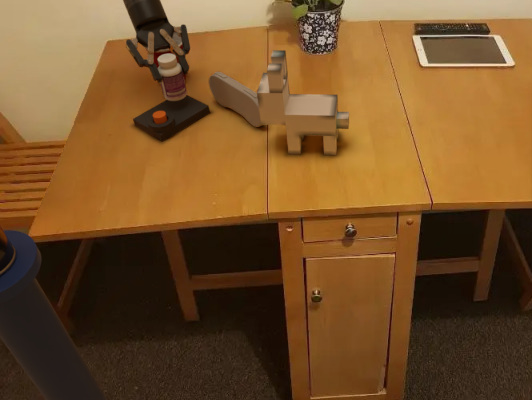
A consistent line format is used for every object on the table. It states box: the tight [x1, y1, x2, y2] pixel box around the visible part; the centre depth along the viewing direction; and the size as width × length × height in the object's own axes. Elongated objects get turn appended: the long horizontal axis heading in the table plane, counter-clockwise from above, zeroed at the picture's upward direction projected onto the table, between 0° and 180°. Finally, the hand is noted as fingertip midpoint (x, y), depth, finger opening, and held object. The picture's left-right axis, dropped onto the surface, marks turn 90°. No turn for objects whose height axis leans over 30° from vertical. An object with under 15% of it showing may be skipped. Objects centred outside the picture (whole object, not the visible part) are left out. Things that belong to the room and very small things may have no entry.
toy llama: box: [256, 49, 350, 156], centre depth 118 cm, size 8×18×20 cm, turn 85°
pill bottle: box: [158, 54, 188, 101], centre depth 129 cm, size 5×5×10 cm
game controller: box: [208, 71, 263, 128], centre depth 131 cm, size 20×2×8 cm, turn 44°
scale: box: [132, 94, 211, 142], centre depth 132 cm, size 14×10×4 cm
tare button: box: [153, 111, 167, 124], centre depth 127 cm, size 3×3×2 cm
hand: (173, 77), depth 128 cm, fingers closed on pill bottle, 5 cm apart
